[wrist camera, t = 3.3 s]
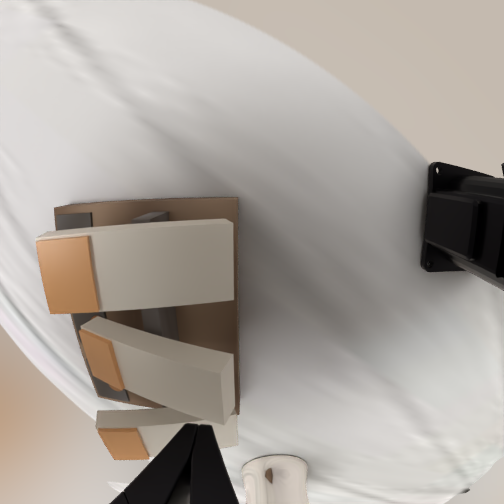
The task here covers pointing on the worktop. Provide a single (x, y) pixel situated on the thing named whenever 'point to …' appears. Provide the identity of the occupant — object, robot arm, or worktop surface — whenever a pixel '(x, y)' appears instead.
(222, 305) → the switch unit
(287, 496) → the beer glass
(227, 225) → the near rocker
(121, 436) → the far rocker
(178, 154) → the worktop surface
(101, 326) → the middle rocker
